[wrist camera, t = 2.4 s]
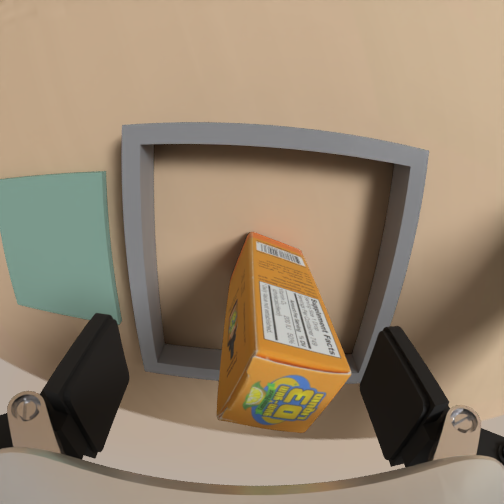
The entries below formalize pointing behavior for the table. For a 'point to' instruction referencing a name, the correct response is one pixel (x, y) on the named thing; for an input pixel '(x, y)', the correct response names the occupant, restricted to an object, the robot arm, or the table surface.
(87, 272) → the mat
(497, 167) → the table surface
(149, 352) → the gray square frame
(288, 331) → the supplement box
